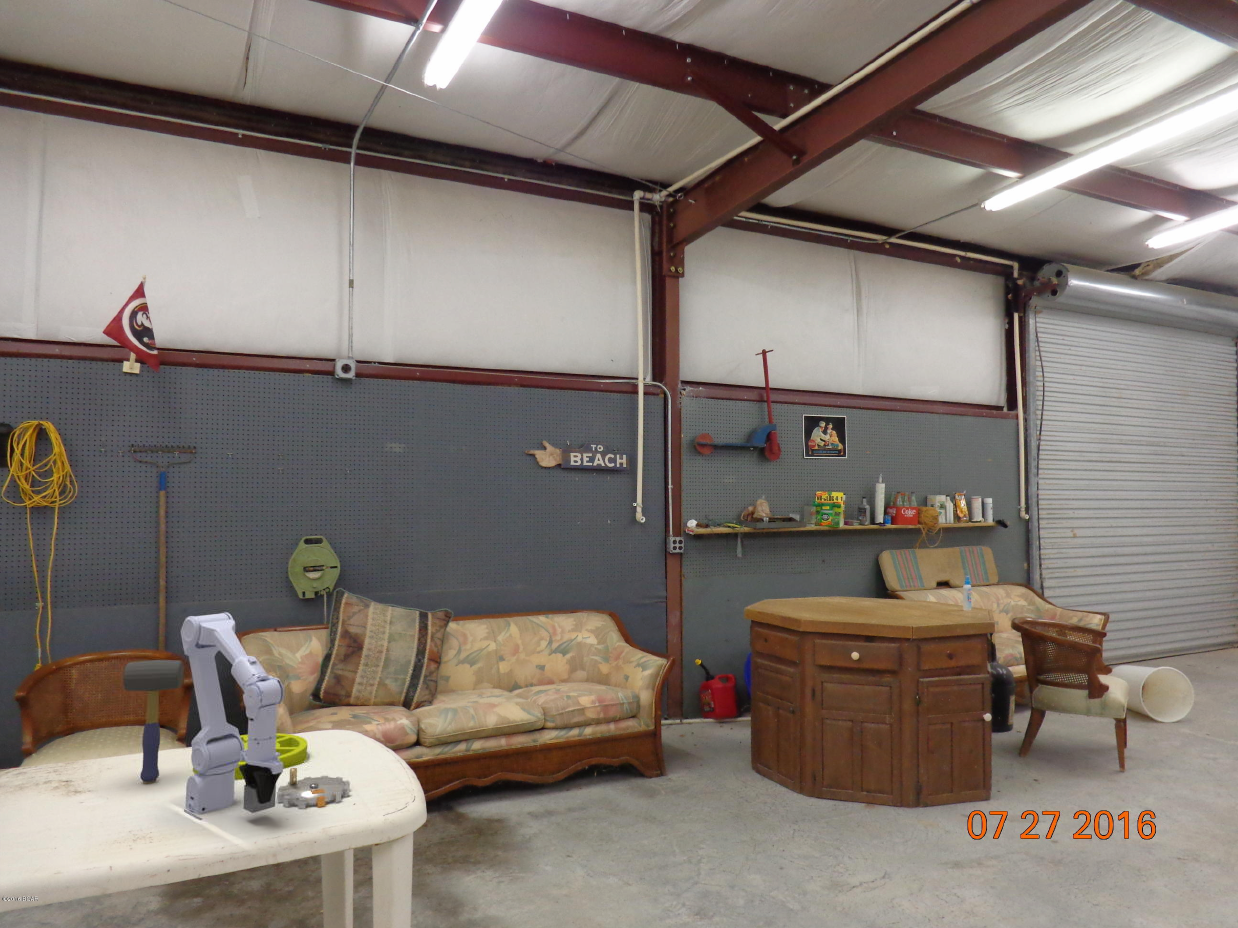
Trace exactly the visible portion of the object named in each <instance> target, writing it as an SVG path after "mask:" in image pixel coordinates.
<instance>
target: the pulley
mask: <svg viewBox="0 0 1238 928" xmlns="http://www.w3.org/2000/svg"><path fill="white" fill-rule="evenodd" d="M240 737H241V739H242V741H243V743H244V747H245V750H247V743H248V734H242V735H240ZM307 751H308V741H307V739H306V738H304V737H302V736H299V735H295V734H291V733H290V734H289V733H277V732H276V752H278V753H280V757H278V759H279V760H280V762H282V763H283V770H284V769H288V768H294V767H296V766H300V765H303V764H304V763H305V762H306V761H307V759H306V758H308V752H307ZM305 760H306V761H305ZM304 761H305V762H304ZM303 762H304V763H303ZM245 763H246V762H245V760H243V761H242V760H241V761H240V762H239V763H238V767H236V768H235V781H238V780H239V781H240V780H242V779H243V780H244V777H243V775H242V773H241V771H240V770H239V767H240V766H241V765H245ZM302 763H303V764H302ZM192 767H193V766H192ZM192 769H193V770H192V771H193V772H195V773H196V774H197V773H199V772H197V771H196V770H195V769H194V767H193V768H192ZM196 774H195V775H196Z"/></svg>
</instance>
